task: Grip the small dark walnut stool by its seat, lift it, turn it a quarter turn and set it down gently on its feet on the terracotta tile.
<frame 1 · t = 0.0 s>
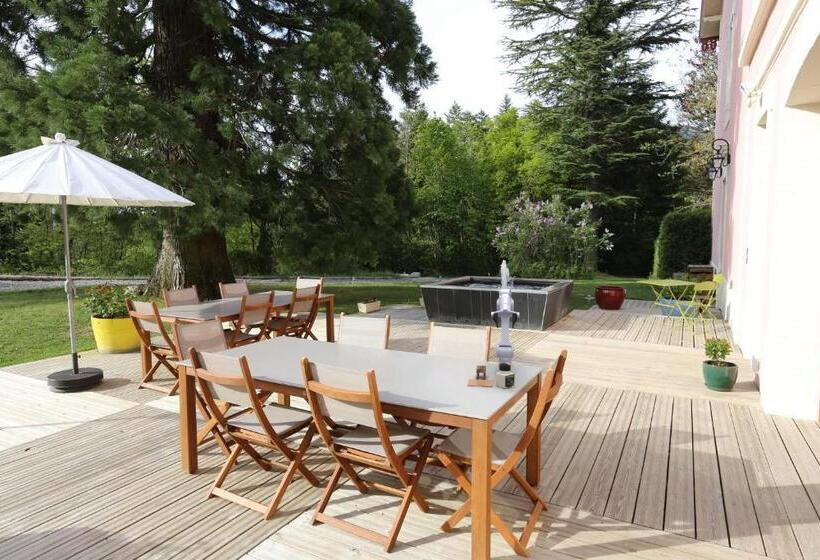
hand: (505, 327, 270), 32 cm above the table, tool tilted 50°, fingers open, 7 cm apart
terracotta tile: (480, 383, 282), on the table
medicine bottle: (505, 386, 278), on the table
walnut stool: (481, 378, 293), on the table
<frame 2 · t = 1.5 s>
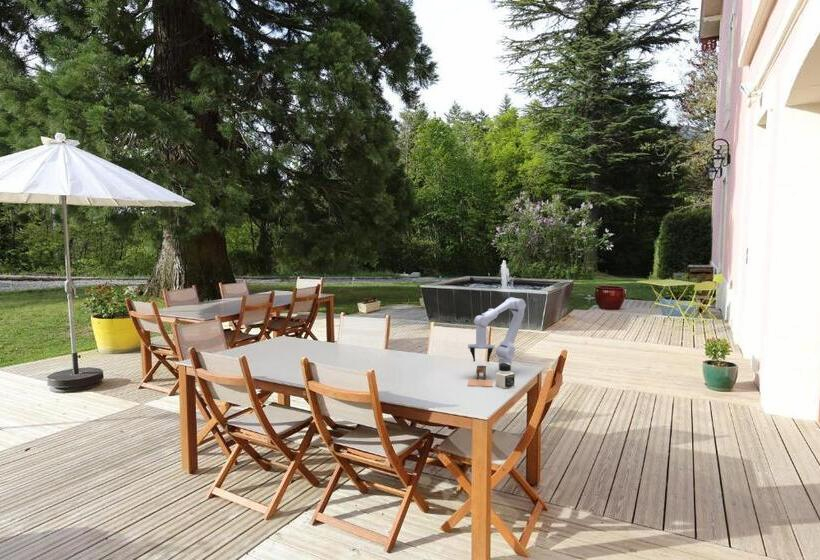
hand: (481, 361, 292), 9 cm above the table, tool pointing down, fingers open, 7 cm apart
nothing on the table moved.
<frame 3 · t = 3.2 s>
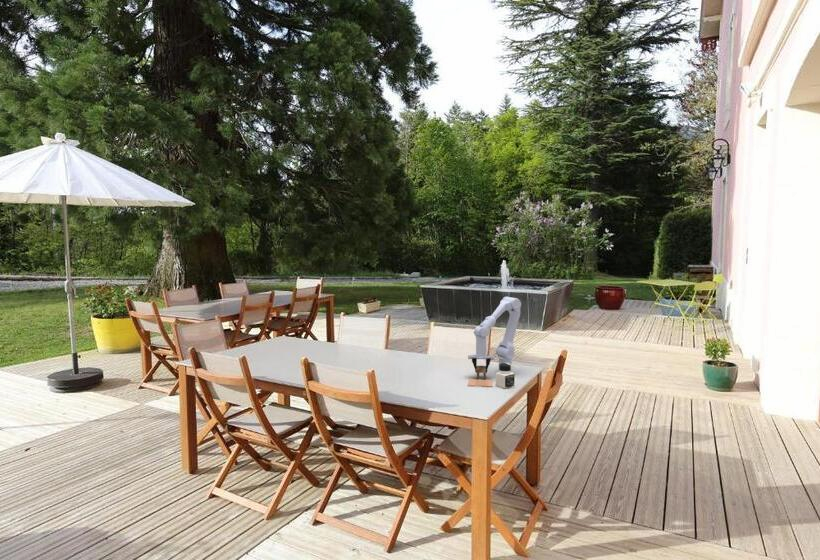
hand: (481, 372, 293), 3 cm above the table, tool pointing down, fingers closed on walnut stool, 5 cm apart
walnut stool: (481, 378, 293), on the table, touching gripper
everything else where it was.
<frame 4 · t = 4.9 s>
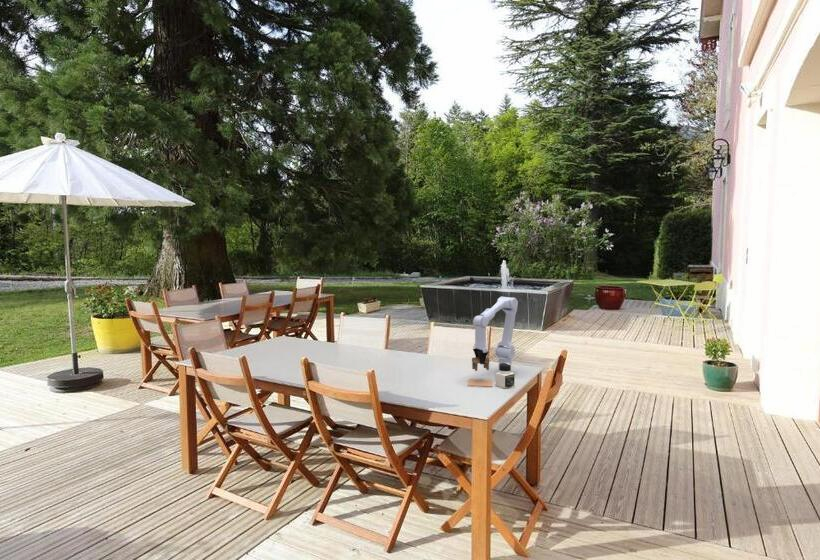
hand: (480, 362, 285), 11 cm above the table, tool pointing down, fingers closed on walnut stool, 5 cm apart
walnut stool: (480, 369, 285), point 7 cm above the table, touching gripper
everything else where it was.
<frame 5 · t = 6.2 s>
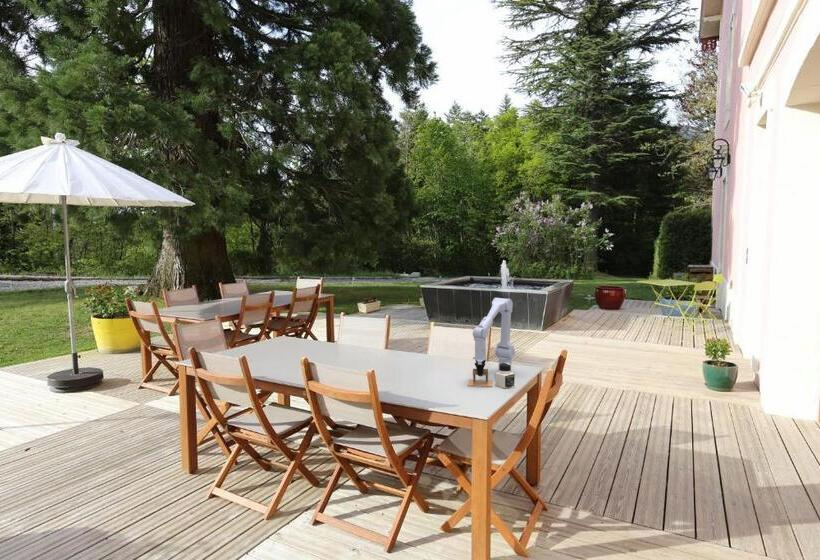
hand: (480, 374, 282), 5 cm above the table, tool pointing down, fingers closed on walnut stool, 5 cm apart
walnut stool: (480, 380, 282), point 2 cm above the table, touching gripper
everything else where it was.
when the fingers open (5 cm above the table, at t = 7.1 s): walnut stool stays where it is, resting on terracotta tile.
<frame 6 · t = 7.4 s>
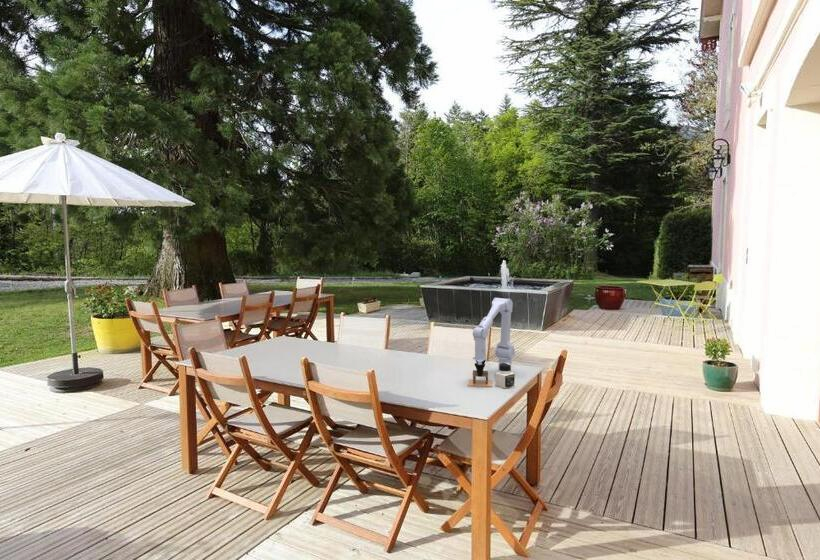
hand: (480, 374, 282), 5 cm above the table, tool pointing down, fingers open, 7 cm apart
walnut stool: (480, 382, 282), point 1 cm above the table, touching terracotta tile
everything else where it was.
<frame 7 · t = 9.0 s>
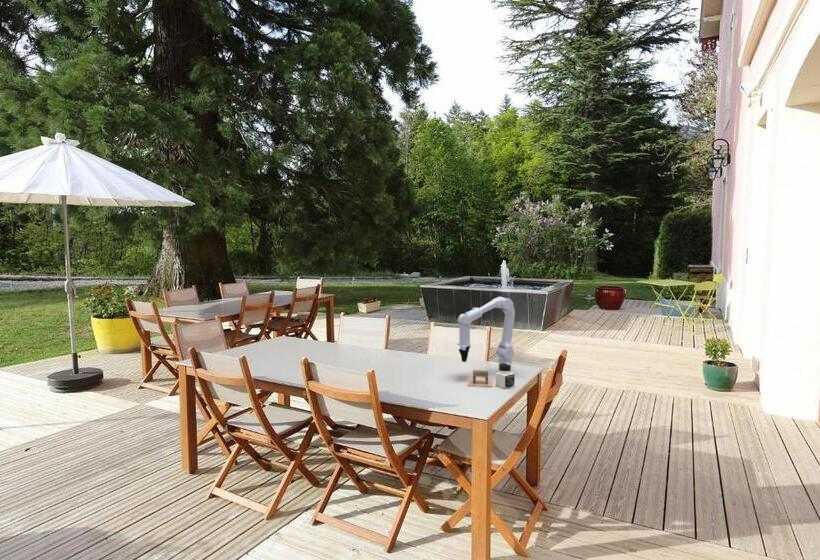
hand: (464, 360, 292), 10 cm above the table, tool pointing down, fingers open, 7 cm apart
nothing on the table moved.
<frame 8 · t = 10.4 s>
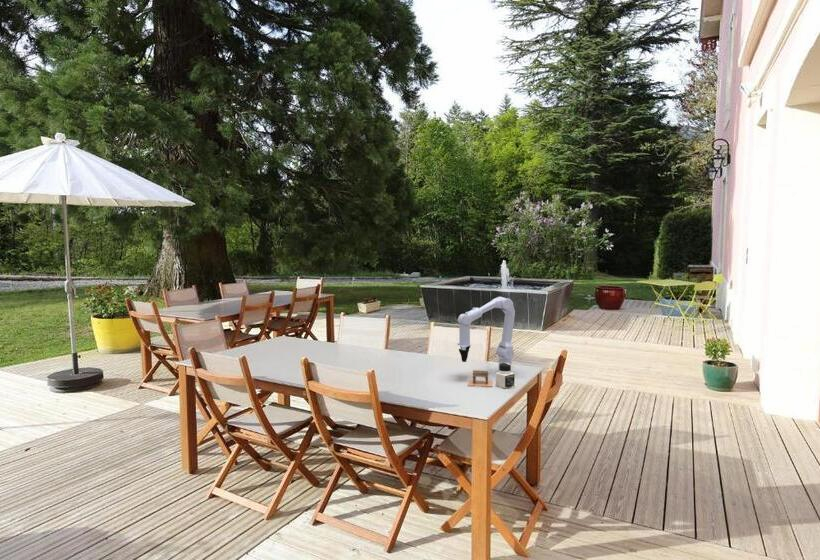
hand: (464, 360, 292), 10 cm above the table, tool pointing down, fingers open, 7 cm apart
nothing on the table moved.
at the end: walnut stool 0.1 cm off-centre on the terracotta tile, point 0.6 cm above the terracotta tile's base; walnut stool tilted 0°; the gripper is holding nothing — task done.
